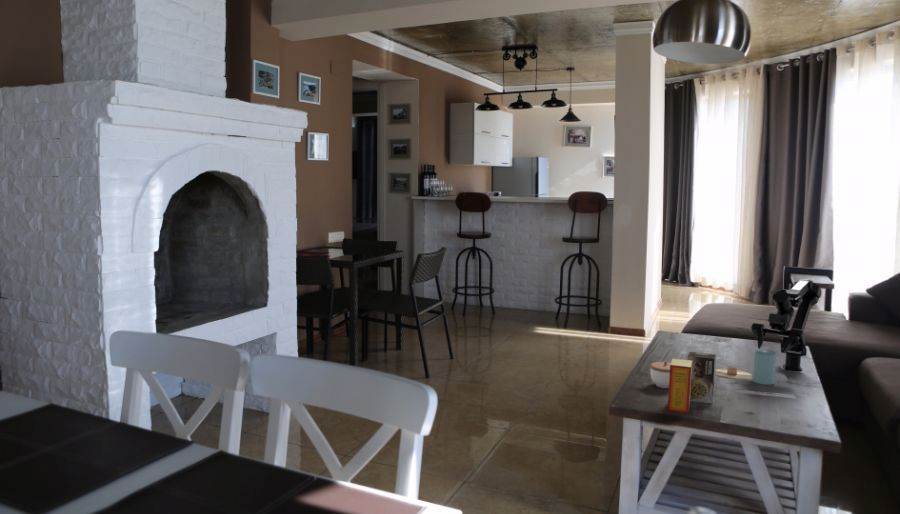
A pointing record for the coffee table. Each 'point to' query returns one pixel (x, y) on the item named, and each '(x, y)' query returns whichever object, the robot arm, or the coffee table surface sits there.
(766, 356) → the teal domed canister
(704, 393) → the coffee box
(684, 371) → the baking soda box
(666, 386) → the lidded jar
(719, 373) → the oak plate
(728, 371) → the bowl
